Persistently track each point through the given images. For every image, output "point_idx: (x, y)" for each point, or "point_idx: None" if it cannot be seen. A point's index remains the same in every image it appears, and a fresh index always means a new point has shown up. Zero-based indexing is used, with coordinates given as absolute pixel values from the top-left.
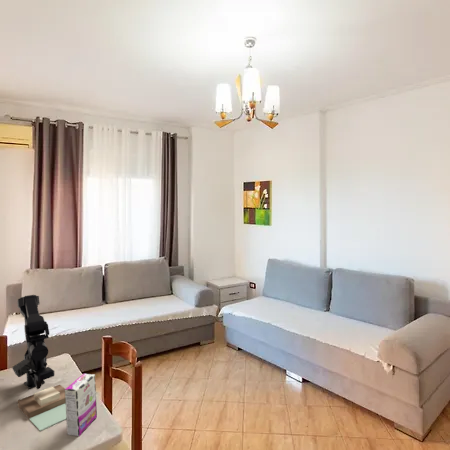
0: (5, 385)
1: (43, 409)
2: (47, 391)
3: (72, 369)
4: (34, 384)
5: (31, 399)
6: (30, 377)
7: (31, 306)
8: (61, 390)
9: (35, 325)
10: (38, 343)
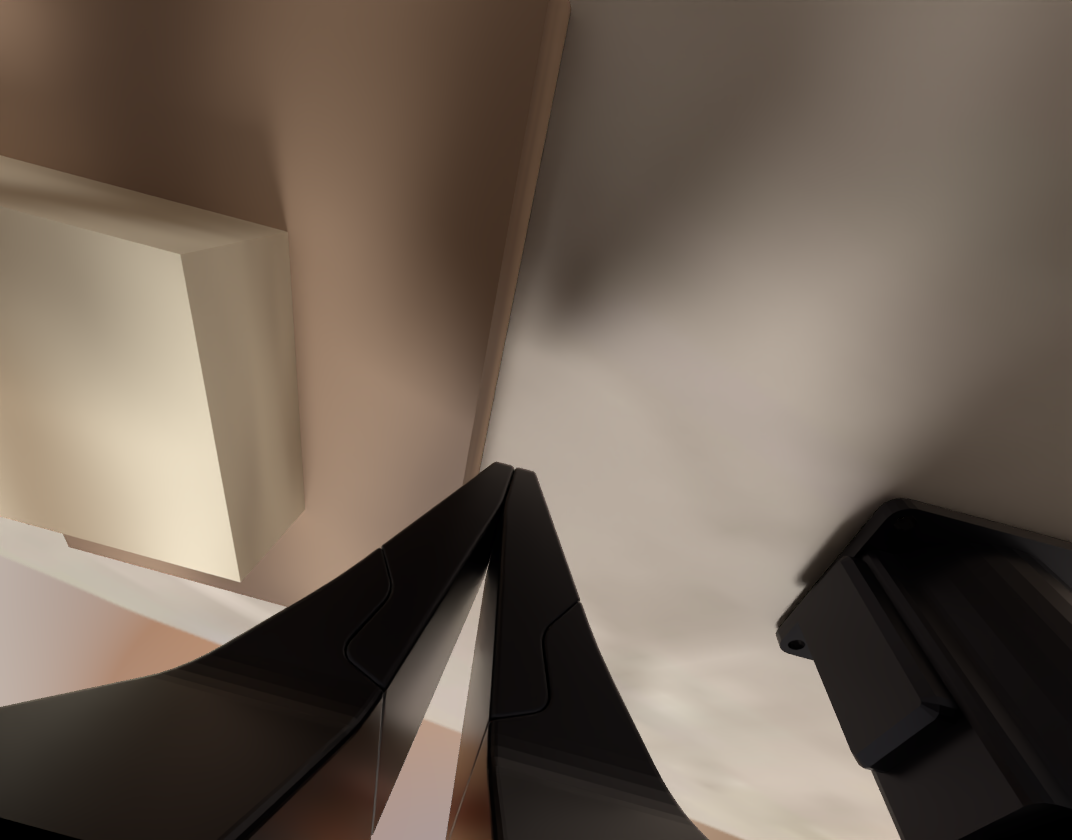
0: None
1: None
2: (92, 447)
3: (705, 813)
4: (851, 574)
5: (327, 205)
6: (1028, 681)
7: None
8: (264, 569)
9: None
10: None
